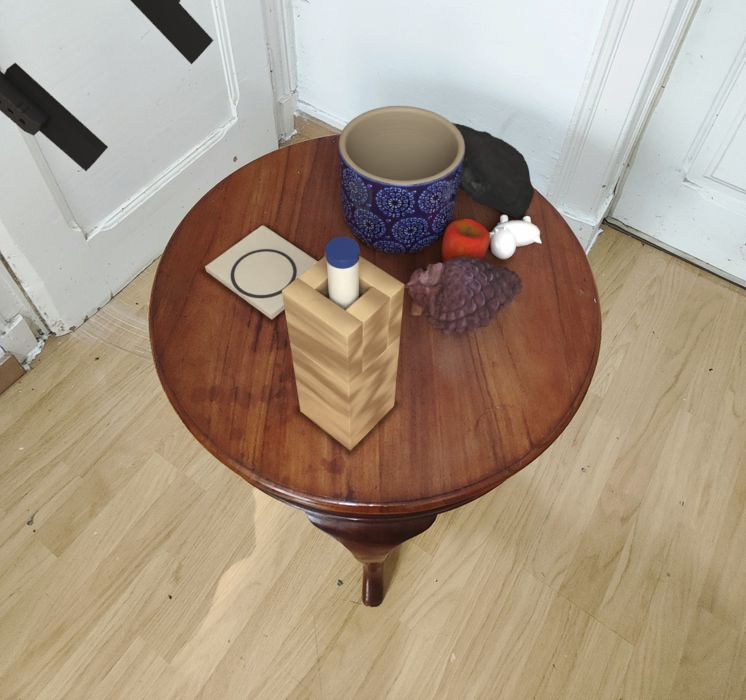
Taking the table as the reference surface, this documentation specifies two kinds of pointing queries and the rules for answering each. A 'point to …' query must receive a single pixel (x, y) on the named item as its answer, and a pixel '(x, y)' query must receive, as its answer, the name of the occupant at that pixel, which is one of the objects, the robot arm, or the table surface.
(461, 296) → the pine cone
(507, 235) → the toy creature
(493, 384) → the table surface
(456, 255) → the apple
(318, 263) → the pen block
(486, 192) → the rock
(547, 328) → the table surface
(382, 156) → the planter
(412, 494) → the table surface
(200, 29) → the robot arm
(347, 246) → the marker
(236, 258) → the drawing board
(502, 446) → the table surface
